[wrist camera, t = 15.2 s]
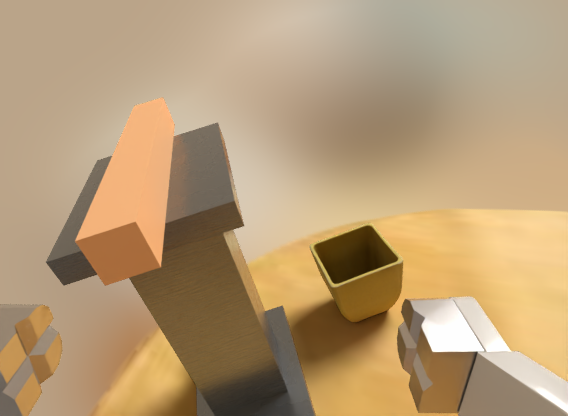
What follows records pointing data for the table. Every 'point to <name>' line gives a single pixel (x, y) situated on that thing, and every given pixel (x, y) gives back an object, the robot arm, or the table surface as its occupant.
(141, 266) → the orange-brown square bar
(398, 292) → the flower pot
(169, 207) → the pedestal
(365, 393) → the table surface
